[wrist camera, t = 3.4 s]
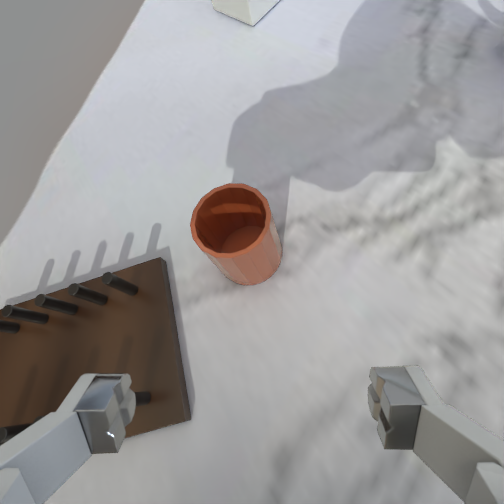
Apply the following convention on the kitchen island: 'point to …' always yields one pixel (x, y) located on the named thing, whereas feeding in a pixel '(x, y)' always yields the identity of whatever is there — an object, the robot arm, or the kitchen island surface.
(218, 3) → the milk carton
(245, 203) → the cup
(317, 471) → the kitchen island surface
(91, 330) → the rack
